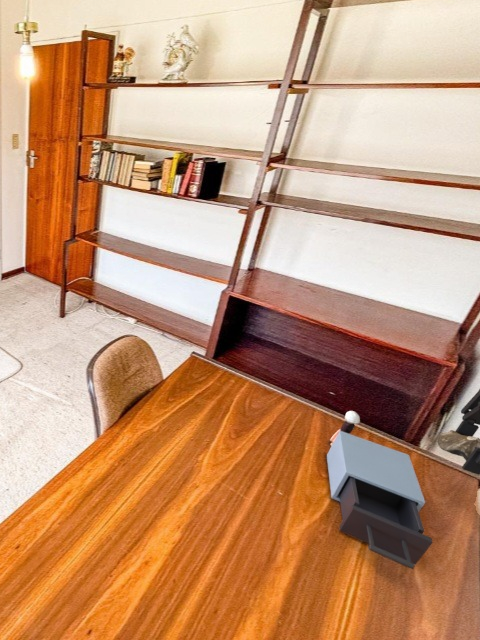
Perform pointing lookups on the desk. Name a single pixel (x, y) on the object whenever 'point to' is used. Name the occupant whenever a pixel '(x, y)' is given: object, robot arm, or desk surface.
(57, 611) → the desk surface
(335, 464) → the cabinet
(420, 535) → the drawer
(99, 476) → the desk surface
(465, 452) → the fossilized seashell
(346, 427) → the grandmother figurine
